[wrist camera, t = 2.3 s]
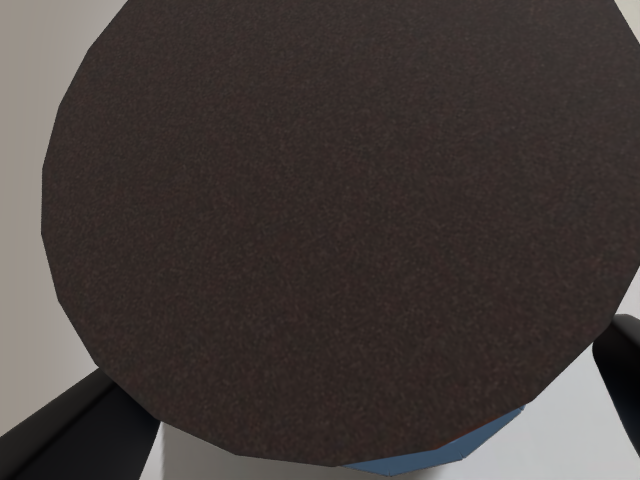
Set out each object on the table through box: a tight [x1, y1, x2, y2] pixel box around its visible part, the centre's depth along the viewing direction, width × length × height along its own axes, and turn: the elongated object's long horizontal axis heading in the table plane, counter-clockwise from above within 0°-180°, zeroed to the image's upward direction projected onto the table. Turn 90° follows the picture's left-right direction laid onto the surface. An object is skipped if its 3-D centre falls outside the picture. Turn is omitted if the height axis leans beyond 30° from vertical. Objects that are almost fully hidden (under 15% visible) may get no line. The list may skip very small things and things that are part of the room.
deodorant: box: [41, 0, 640, 467], centre depth 11 cm, size 6×6×15 cm
